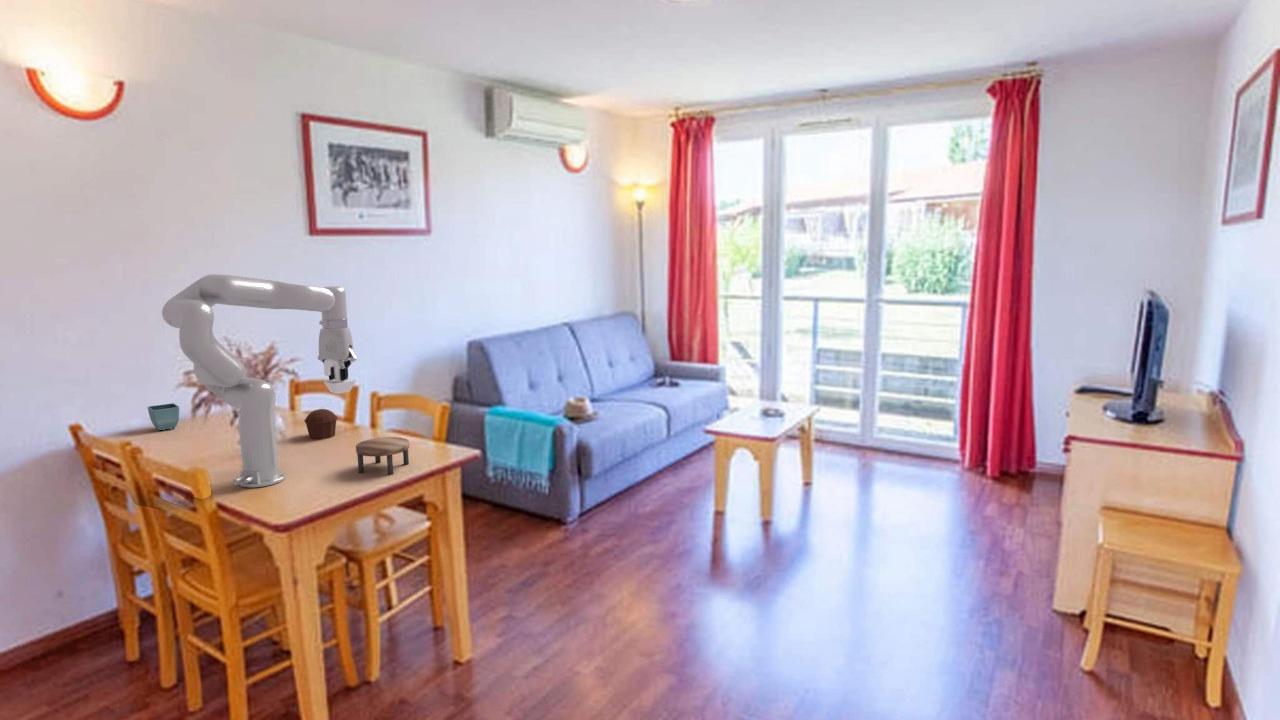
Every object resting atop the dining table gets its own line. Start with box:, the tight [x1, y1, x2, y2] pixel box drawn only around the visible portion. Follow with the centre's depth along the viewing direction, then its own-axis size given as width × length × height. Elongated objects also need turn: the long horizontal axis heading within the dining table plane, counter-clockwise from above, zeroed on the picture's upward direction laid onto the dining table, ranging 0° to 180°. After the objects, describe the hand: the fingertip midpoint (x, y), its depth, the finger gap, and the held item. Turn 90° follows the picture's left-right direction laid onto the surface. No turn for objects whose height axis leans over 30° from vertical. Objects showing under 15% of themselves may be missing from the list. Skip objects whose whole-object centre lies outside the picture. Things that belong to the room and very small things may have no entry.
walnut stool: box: [355, 436, 410, 476], centre depth 225 cm, size 16×16×8 cm
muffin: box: [303, 408, 338, 441], centre depth 261 cm, size 12×11×10 cm
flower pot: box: [147, 402, 180, 431], centre depth 270 cm, size 9×9×9 cm
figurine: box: [323, 358, 356, 395], centre depth 231 cm, size 7×9×15 cm
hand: (338, 379), depth 232 cm, fingers closed on figurine, 3 cm apart
